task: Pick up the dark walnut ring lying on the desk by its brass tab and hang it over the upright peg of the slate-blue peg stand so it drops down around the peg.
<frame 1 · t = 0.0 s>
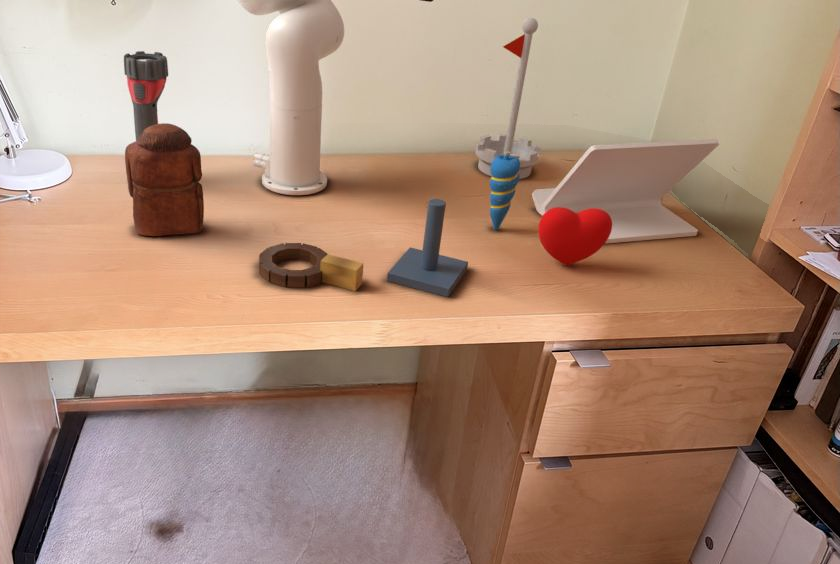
peg rack: (427, 275, 123), on the table
flashlight: (154, 179, 149), on the table
heart: (565, 266, 129), on the table
walnut ring: (294, 270, 122), on the table
wooden figurine: (168, 230, 132), on the table
flag stand: (504, 170, 163), on the table
ornament: (494, 230, 138), on the table
tablet stand: (610, 220, 145), on the table
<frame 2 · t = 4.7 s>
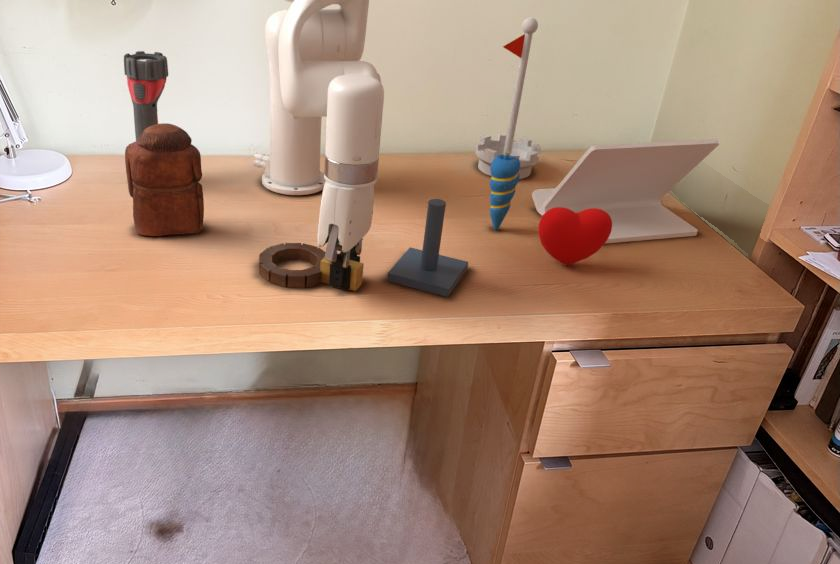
hand: (343, 281, 119), 0 cm above the table, tool pointing down, fingers closed on walnut ring, 2 cm apart
walnut ring: (294, 270, 122), on the table, touching gripper
everything else where it was.
when the fingers open (2 cm above the table, at t = 13.8 s): walnut ring stays where it is, resting on peg rack.
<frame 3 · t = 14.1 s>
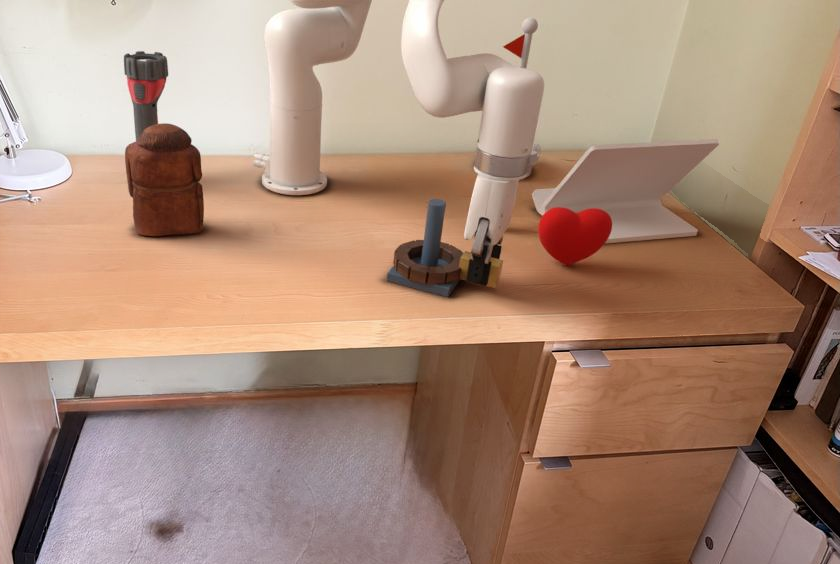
hand: (482, 274, 119), 3 cm above the table, tool pointing down, fingers open, 5 cm apart
walnut ring: (429, 267, 122), point 1 cm above the table, touching peg rack
everything else where it was.
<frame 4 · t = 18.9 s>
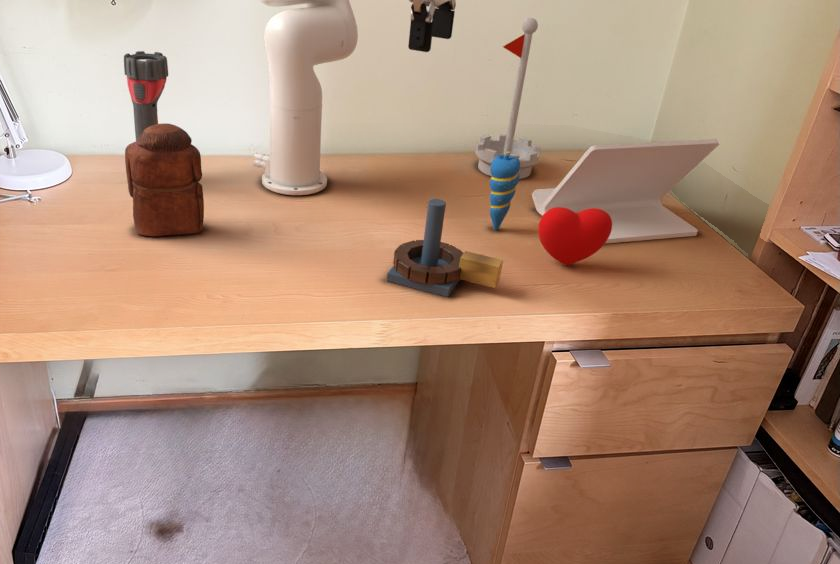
hand: (430, 43, 115), 32 cm above the table, tool pointing down, fingers open, 9 cm apart
nothing on the table moved.
at the end: walnut ring 0.0 cm off-centre on the peg rack, point 1.5 cm above the peg rack's base; walnut ring tilted 0°; the gripper is holding nothing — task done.
